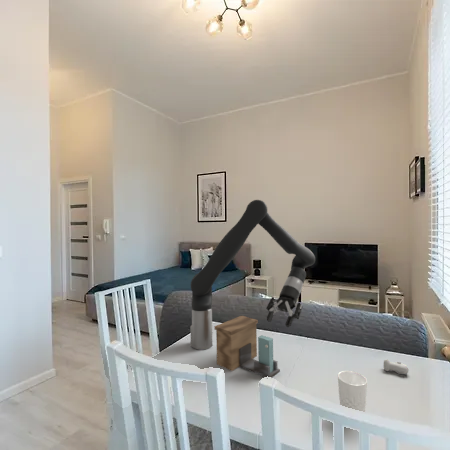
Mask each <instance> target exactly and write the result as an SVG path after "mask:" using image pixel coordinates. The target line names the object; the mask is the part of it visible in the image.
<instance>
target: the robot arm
mask: <svg viewBox="0 0 450 450" xmlns="http://www.w3.org/2000/svg"><path fill="white" fill-rule="evenodd" d="M257 225H259V226H260V227H262V228H263V230H265V231H266V232H267V234H269V236H270V237H271V238H272V239H273V240H274V241H275V242H276V243H277V245H278V246H279V247H281V248H282V249H283V251H285V253H287V254H288V255H295V256H294V257H292V258H293V259H292V260H291V267H290V268H291V269H290V272H289V274H288V276H287V278H286V280H285V282H284V283H283V286H282V288H281V291H280V293H279V295H278V296H279V297H278V298H277V299H276V298H274V297H271V298H270V300H269V302H268V304H267V306H266V310H267V312H268V314H267V316H266V321H267V322H268V323H271V322H272V321H273V318H274V314H277V313H278V312H286V313H288V315H289V316H288V317H287V319H286V321H285V326H286V328H289V327H291V326H292V323H293V321H294V320H295V319H296V320H299V319H300V316H301V313H302V310H303V305H302V303H301V302H298V300H299V297H300V295H301V292H302V289H303V285H304V284H305V280H306V277H307V272H306V271H305V269H306V268H309V267H311V266H313V265H314V264H315V263H316V255H315V254H314V253H313V252H312V251H311V249H309V248H308V247H306V246H305V245H303V244H301V243H300V242H298V240H297V239H295V238H294V237H293V236H292V234H291V233H289V231H287V230H286V229H285V228H283V226H281V224H279V223H278V222H277V221H276V220H275V219H274V218H273V217H272V216H271V215H270V213H269V212H268V206H267V204H266V202H265V201H263V200H261V199H254V200H251V201H250V202H249V203H248V205H247V206H246V209H245V211H244V212H243V214H242V215H241V217H240V219H239V220H238V222H236V224H235V225H234V226H233V227H232V228H230V230H229V231H228V232H227V233H226V234H225V235H224V236H223V237H222V239H221V240H220V241H219V243H218V244H217V246H216V247H215V248H214V250H213V252H212V254H211V255H210V258H209V260H208V261H207V263H206V264H205V265H204V267H202V268H201V270H200V271H199V272H198V273H196V274H195V275H194V276H193V277H192V279H191V281H190V289H191V290H190V291H191V292H192V293H191V295H192V297H191V325H190V328H189V330H190V331H189V332H190V347H191V348H193V349H195V350H198V351H199V350H201V351H203V350H208V349H210V348H212V347H213V342H214V341H213V307H212V306H213V284H214V283H215V282H216V280H217V278H218V276H219V275H220V274H221V273H222V272H223V271H224V270H225V268H226V267H227V266H228V265H229V264H230V263H231V262H232V260H233V259H234V258H235V257H236V255H237V254H238V253H239V251H240V250H241V249H242V247H243V245H244V244H245V242H247V239H248V237H249V236H250V234H251V232H252V231H253V230H254V229H255V228H256V227H257ZM297 302H298V303H297ZM293 309H295V311H293Z"/></svg>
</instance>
